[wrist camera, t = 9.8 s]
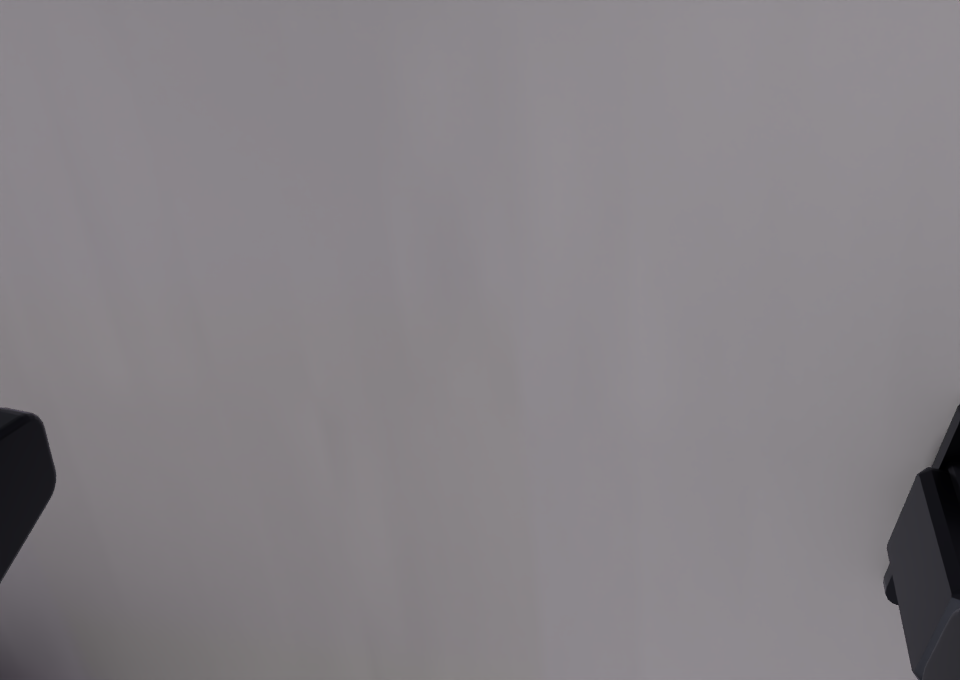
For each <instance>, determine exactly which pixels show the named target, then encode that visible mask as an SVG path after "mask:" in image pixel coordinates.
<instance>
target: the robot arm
mask: <svg viewBox="0 0 960 680" xmlns="http://www.w3.org/2000/svg"><path fill="white" fill-rule="evenodd" d="M55 483H56V470H55V466H54V463H53V459H52V455H51V451H50V447H49V443H48V439H47V435H46V431H45V427H44V424H43V422H42V421H41V419H40V418H39V417H38V416H37V415H35V414H33V413H29V412H25V411H20V410H15V409H10V408H0V583H1V581H2V579H3V578H4V576H5V574H6V573H7V571H8V569H9V567H10V566H11V564H12V562H13V561H14V559H15V557H16V556H17V554H18V552H19V551H20V549H21V547H22V546H23V544H24V542H25V541H26V539H27V537H28V535H29V534H30V532H31V530H32V529H33V527H34V525H35V524H36V522H37V520H38V519H39V517H40V515H41V514H42V512H43V510H44V508H45V507H46V505H47V503H48V502H49V500H50V498H51V496H52V494H53V491H54V488H55ZM887 552H888V556H889V561H890V564H889V566H888V569H887V571H886V573H885V576H884V580H883V584H884V589H885V594H886V596H887V598H888V600H890V601H891V602H892V603H893V604H896V605H899V610H900V614H901V619H902V624H903V629H904V634H905V639H906V643H907V648H908V653H909V658H910V663H911V668H912V671H913V673H914V674H915V676H916V677H917V679H918V680H960V405H959V406H958V407H957V410H956V412H955V414H954V417H953V419H952V421H951V424H950V426H949V428H948V430H947V433H946V435H945V437H944V440H943V442H942V444H941V447H940V449H939V451H938V453H937V456H936V458H935V460H934V463H933V465H932V467H928V468H926V469H924V470H923V471H921V472H920V473H918V474H917V476H916V478H915V481H914V483H913V485H912V488H911V490H910V492H909V495H908V497H907V499H906V502H905V504H904V507H903V509H902V511H901V514H900V516H899V518H898V521H897V523H896V525H895V528H894V530H893V532H892V535H891V537H890V539H889V542H888V544H887Z"/></svg>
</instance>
